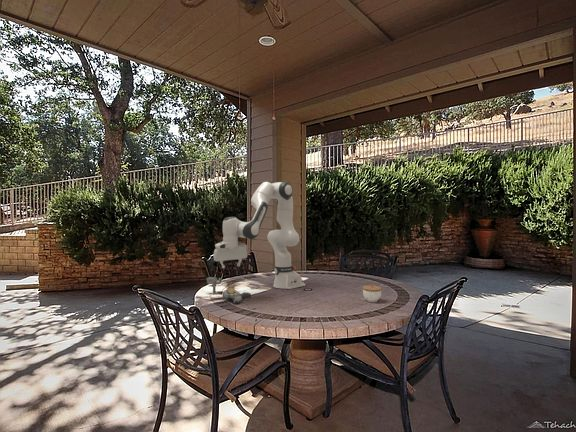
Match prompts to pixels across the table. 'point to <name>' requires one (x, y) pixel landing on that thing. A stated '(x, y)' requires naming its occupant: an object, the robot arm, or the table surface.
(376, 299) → the lidded jar
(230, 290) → the brass pin
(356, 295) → the table surface
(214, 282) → the mechanical component
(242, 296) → the chain ends
